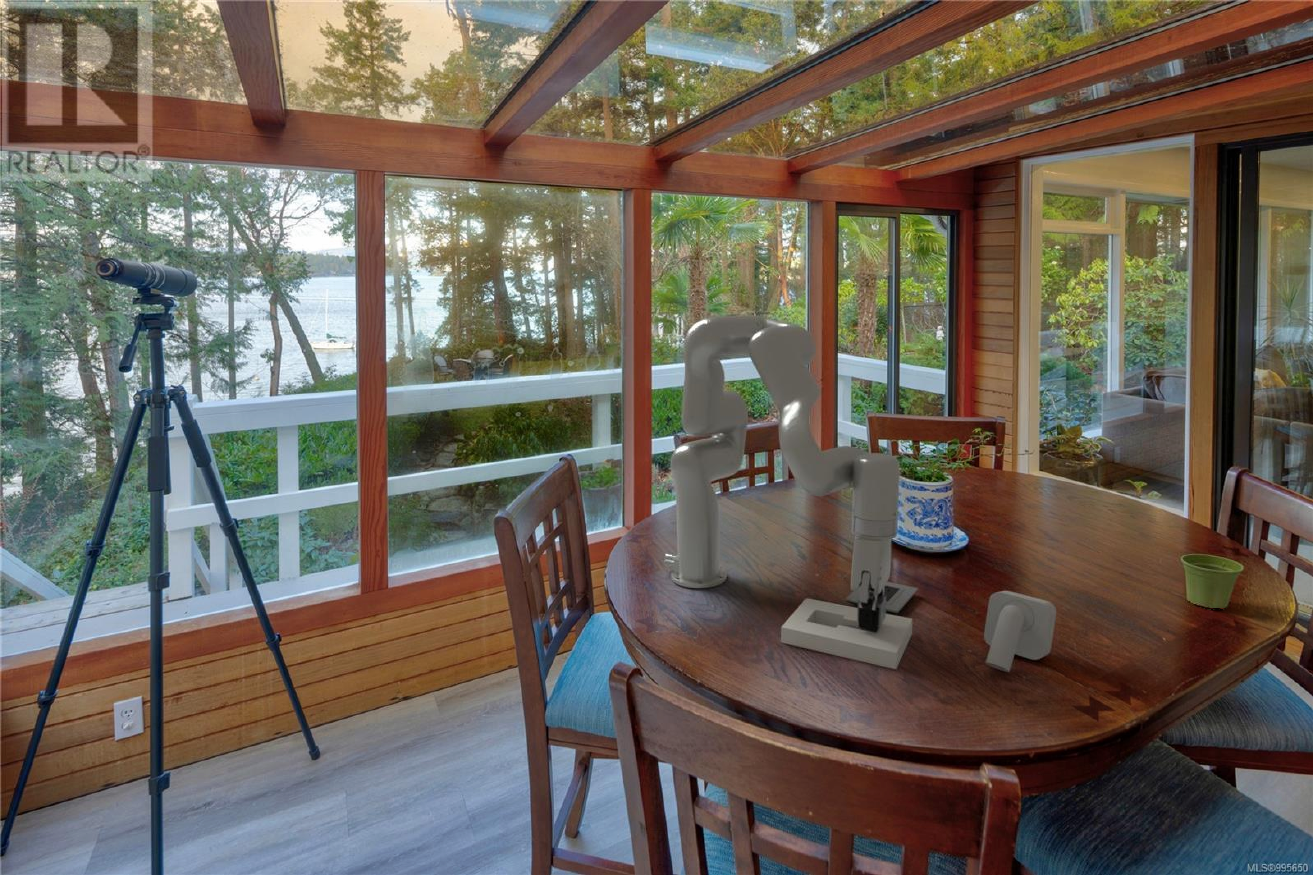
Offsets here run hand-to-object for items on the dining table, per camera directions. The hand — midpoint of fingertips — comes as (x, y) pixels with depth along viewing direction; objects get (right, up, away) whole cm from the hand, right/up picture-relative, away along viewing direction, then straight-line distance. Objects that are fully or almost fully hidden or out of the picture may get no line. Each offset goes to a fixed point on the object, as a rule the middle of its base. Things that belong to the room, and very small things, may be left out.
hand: (871, 622), depth 118 cm
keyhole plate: (-3, -4, +3) cm, 6 cm away
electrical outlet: (+8, -1, +18) cm, 20 cm away
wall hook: (+21, -5, -6) cm, 23 cm away
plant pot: (+70, 0, +12) cm, 71 cm away
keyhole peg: (0, -4, +1) cm, 4 cm away
